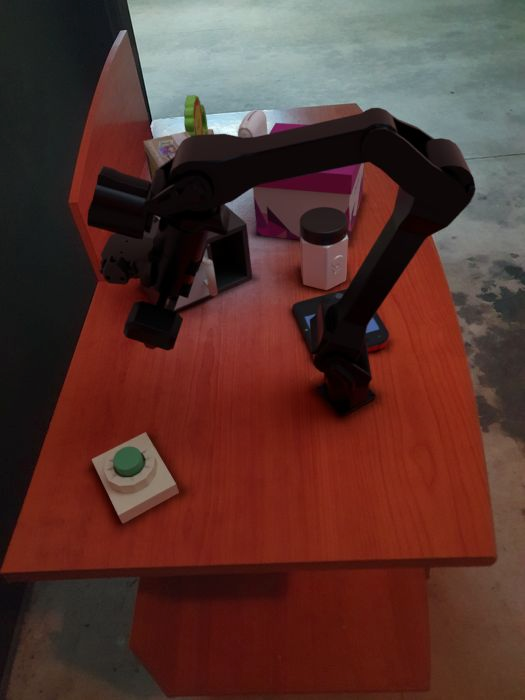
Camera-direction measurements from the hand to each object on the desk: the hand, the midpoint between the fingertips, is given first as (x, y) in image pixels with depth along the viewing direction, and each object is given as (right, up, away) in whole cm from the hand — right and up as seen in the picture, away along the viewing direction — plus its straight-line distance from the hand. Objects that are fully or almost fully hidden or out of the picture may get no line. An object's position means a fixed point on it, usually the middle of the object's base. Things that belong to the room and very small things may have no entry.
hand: (158, 321), depth 79 cm
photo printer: (+13, +40, +58) cm, 71 cm away
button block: (-3, -21, -2) cm, 22 cm away
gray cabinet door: (+3, +4, +20) cm, 21 cm away
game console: (+27, 0, +16) cm, 32 cm away
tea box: (-2, +25, +44) cm, 51 cm away
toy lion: (-1, +44, +63) cm, 77 cm away
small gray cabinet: (+2, +8, +27) cm, 28 cm away
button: (-3, -19, -5) cm, 20 cm away
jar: (+26, +10, +26) cm, 38 cm away
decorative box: (+25, +24, +41) cm, 53 cm away
